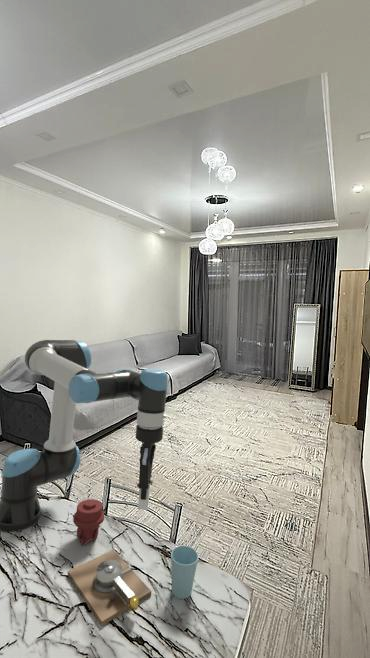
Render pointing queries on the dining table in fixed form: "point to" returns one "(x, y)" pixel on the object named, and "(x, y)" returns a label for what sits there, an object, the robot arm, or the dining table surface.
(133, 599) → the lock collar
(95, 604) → the post board
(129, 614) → the dining table surface
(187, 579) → the cup
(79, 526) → the mechanical component
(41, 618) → the dining table surface
